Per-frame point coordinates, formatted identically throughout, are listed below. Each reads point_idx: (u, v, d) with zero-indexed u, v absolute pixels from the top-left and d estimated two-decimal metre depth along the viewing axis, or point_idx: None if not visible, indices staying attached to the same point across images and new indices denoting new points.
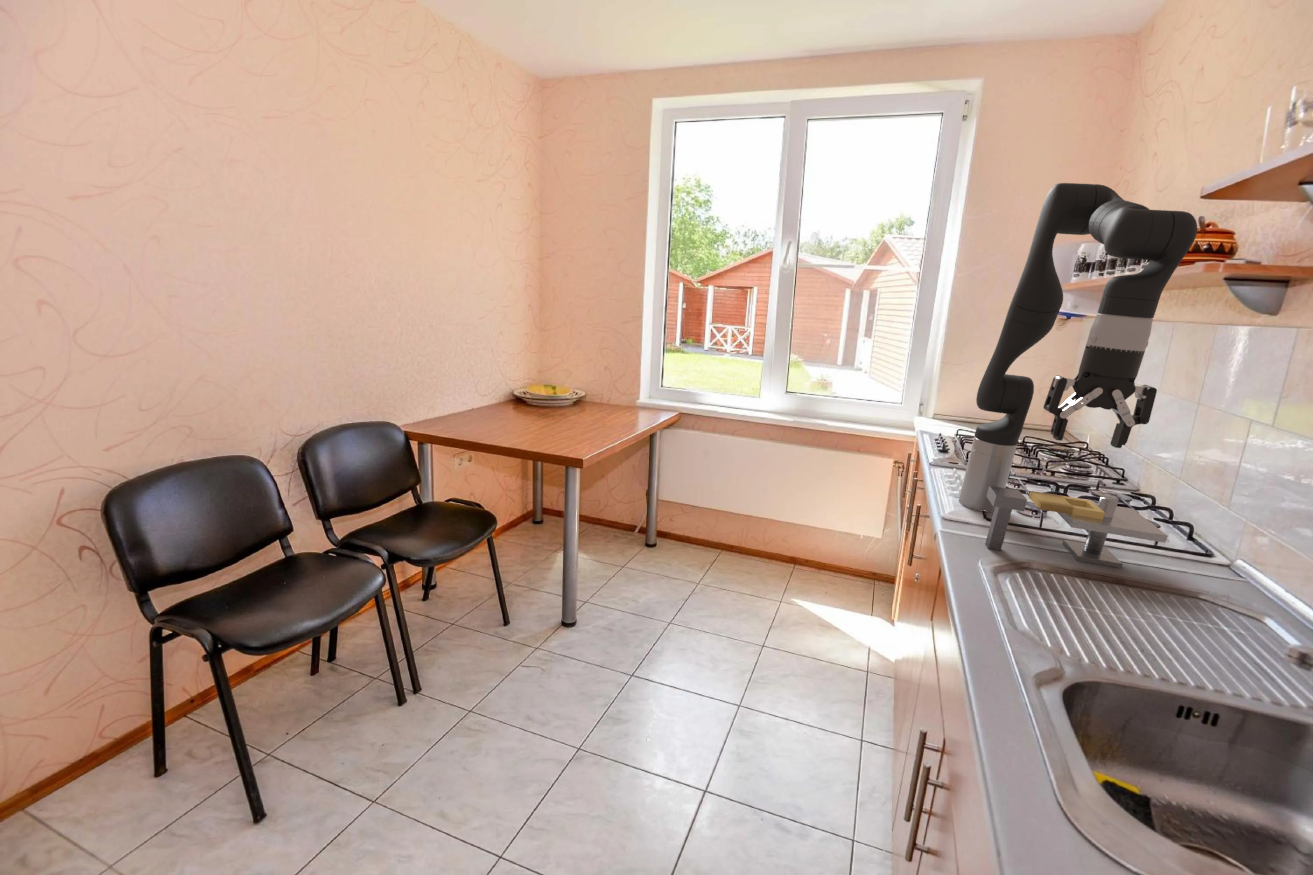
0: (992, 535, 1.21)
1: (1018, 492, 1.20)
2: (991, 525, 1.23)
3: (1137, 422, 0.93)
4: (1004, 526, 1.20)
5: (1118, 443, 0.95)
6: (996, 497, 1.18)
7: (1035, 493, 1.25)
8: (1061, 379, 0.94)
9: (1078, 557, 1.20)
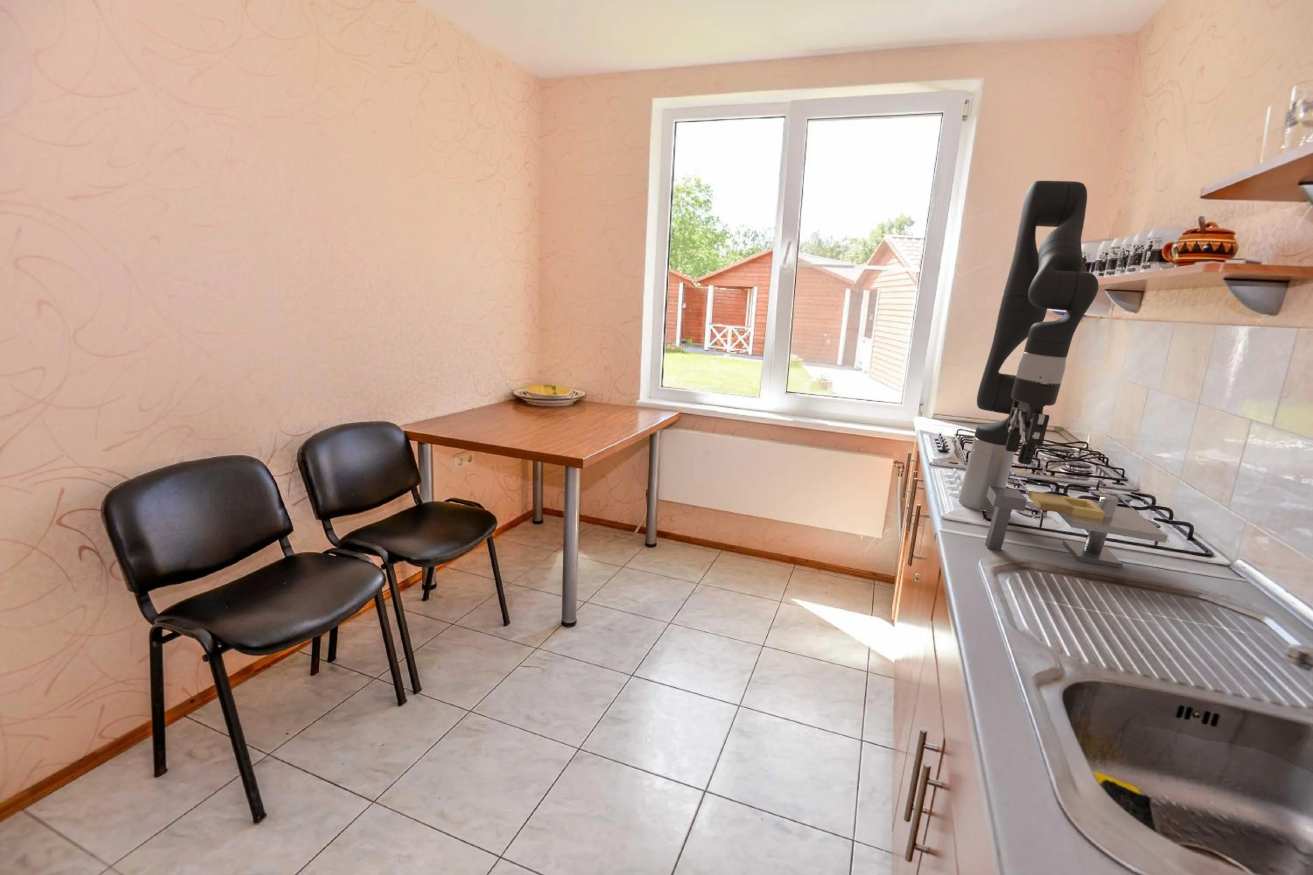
0: (992, 535, 1.21)
1: (1018, 492, 1.20)
2: (991, 525, 1.23)
3: None
4: (1004, 526, 1.20)
5: (1017, 448, 1.21)
6: (996, 497, 1.18)
7: (1035, 493, 1.25)
8: (1048, 416, 1.08)
9: (1078, 557, 1.20)
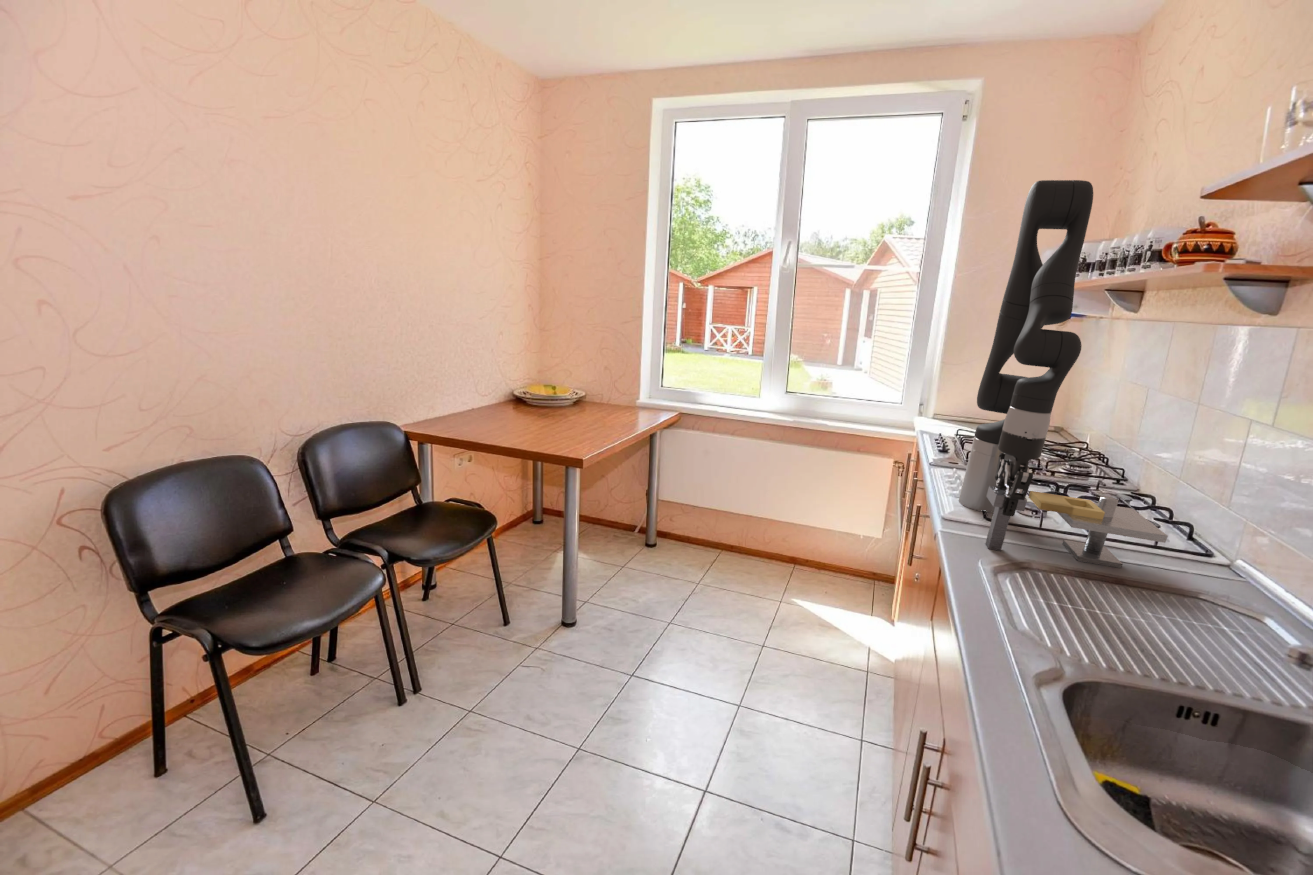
0: (992, 535, 1.21)
1: None
2: (991, 525, 1.23)
3: None
4: (1004, 526, 1.20)
5: None
6: (996, 497, 1.18)
7: (1035, 493, 1.25)
8: (1032, 475, 1.11)
9: (1078, 557, 1.20)
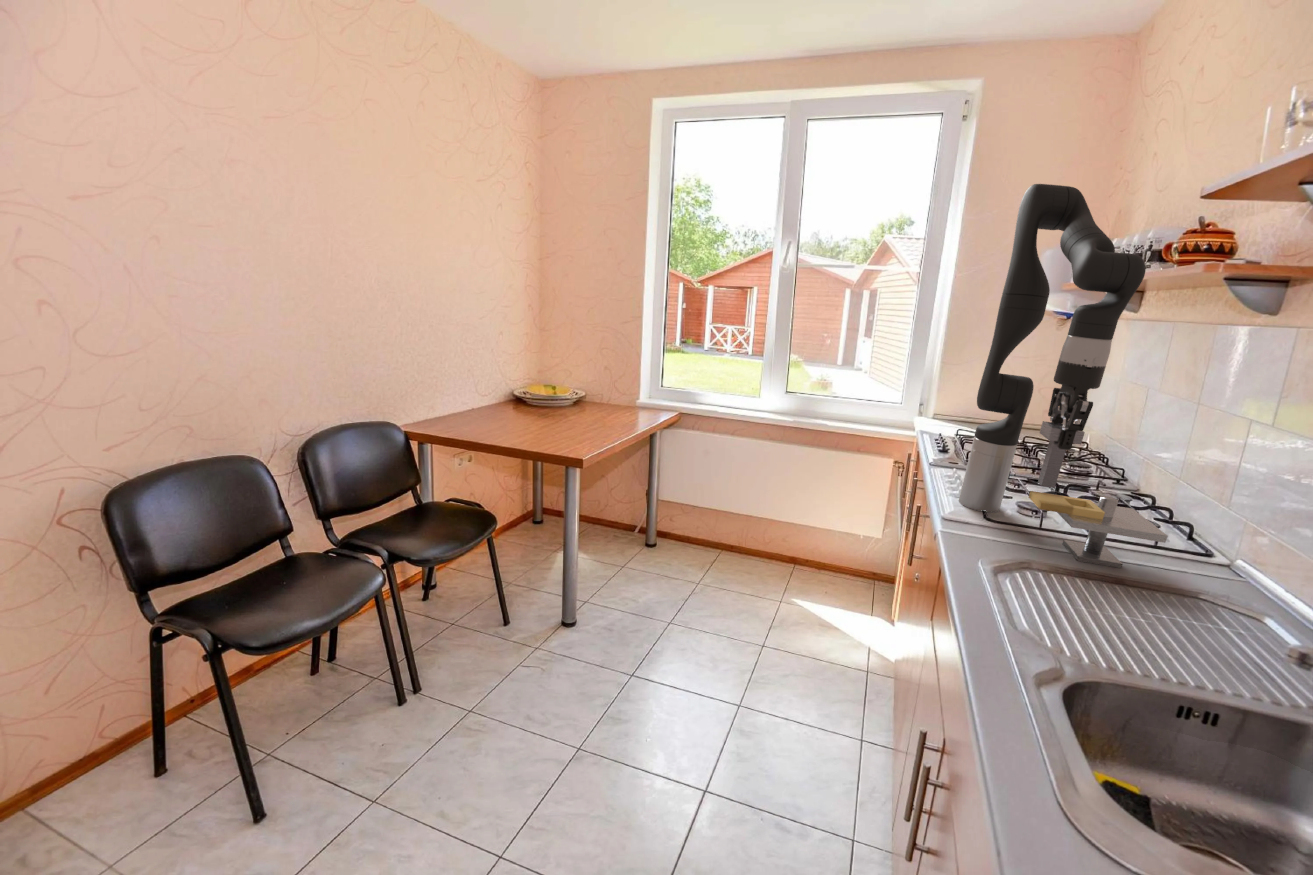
0: (1046, 471, 1.18)
1: None
2: (1045, 462, 1.19)
3: None
4: (1059, 462, 1.17)
5: None
6: (1052, 430, 1.14)
7: (1035, 493, 1.25)
8: (1092, 404, 1.08)
9: (1078, 557, 1.20)
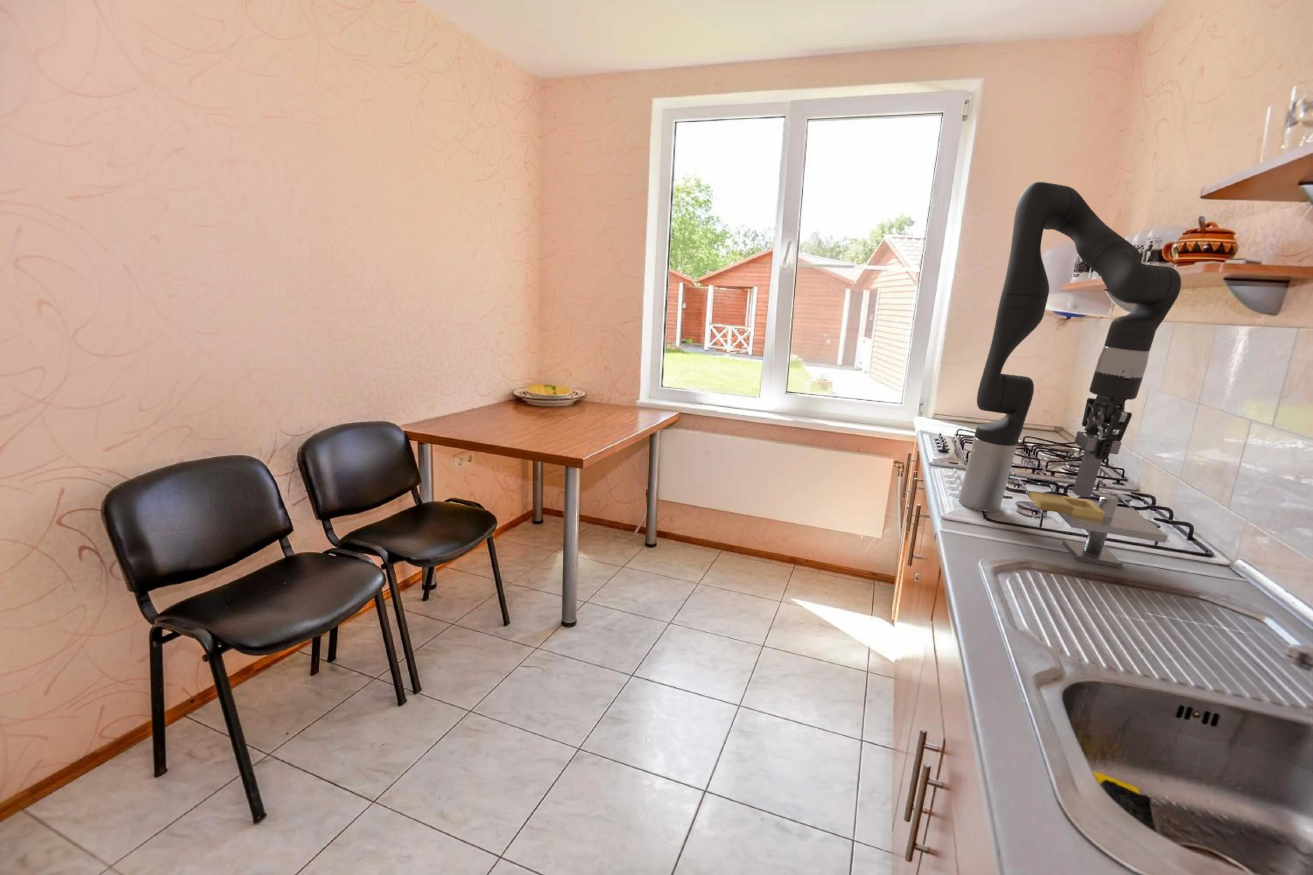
0: (1081, 481, 1.19)
1: None
2: (1080, 471, 1.20)
3: None
4: (1095, 471, 1.18)
5: None
6: (1088, 440, 1.15)
7: (1035, 493, 1.25)
8: (1131, 415, 1.09)
9: (1078, 557, 1.20)
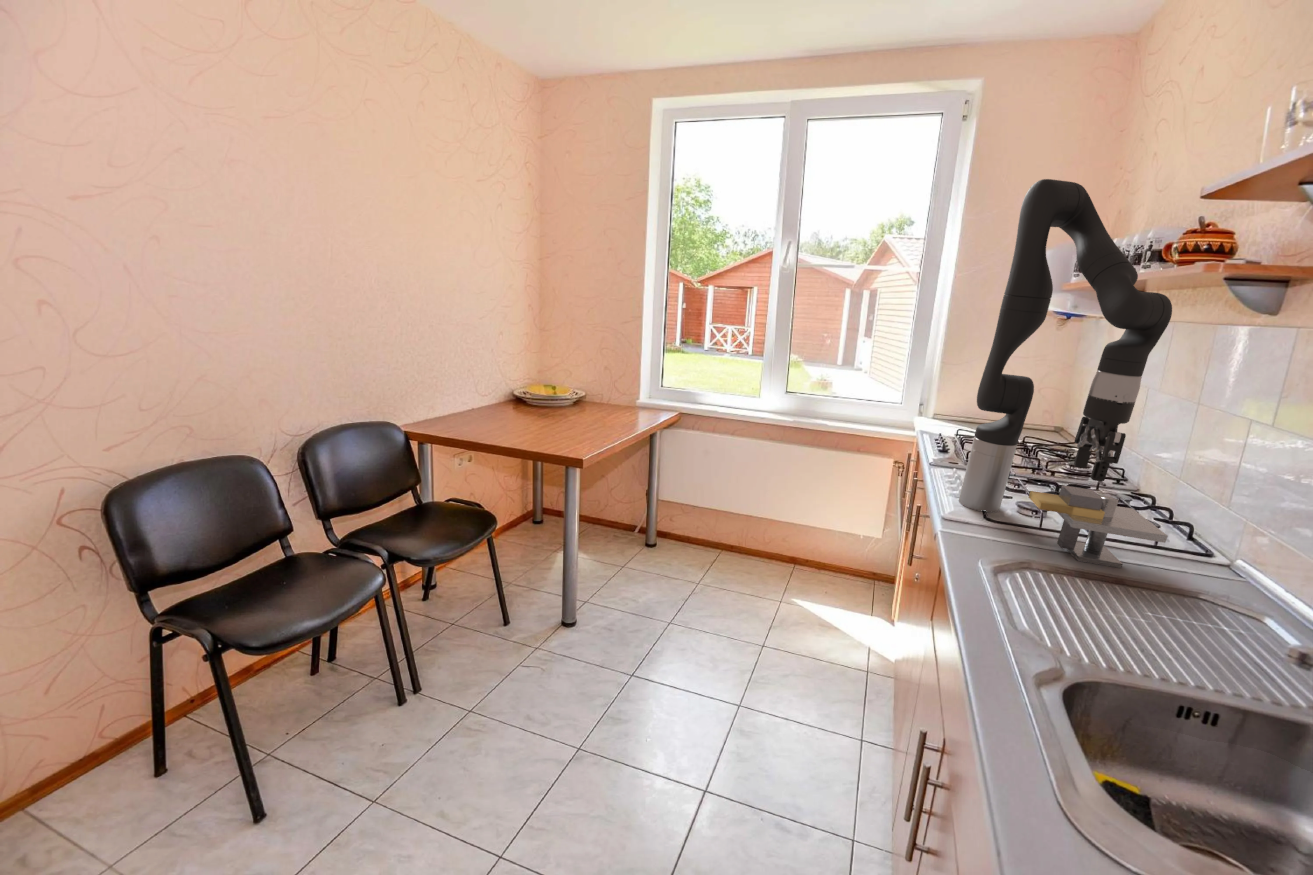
0: (1065, 534, 1.22)
1: (1092, 492, 1.21)
2: (1064, 524, 1.23)
3: None
4: None
5: (1086, 464, 1.22)
6: (1071, 496, 1.19)
7: (1035, 493, 1.25)
8: (1125, 435, 1.10)
9: (1078, 557, 1.20)
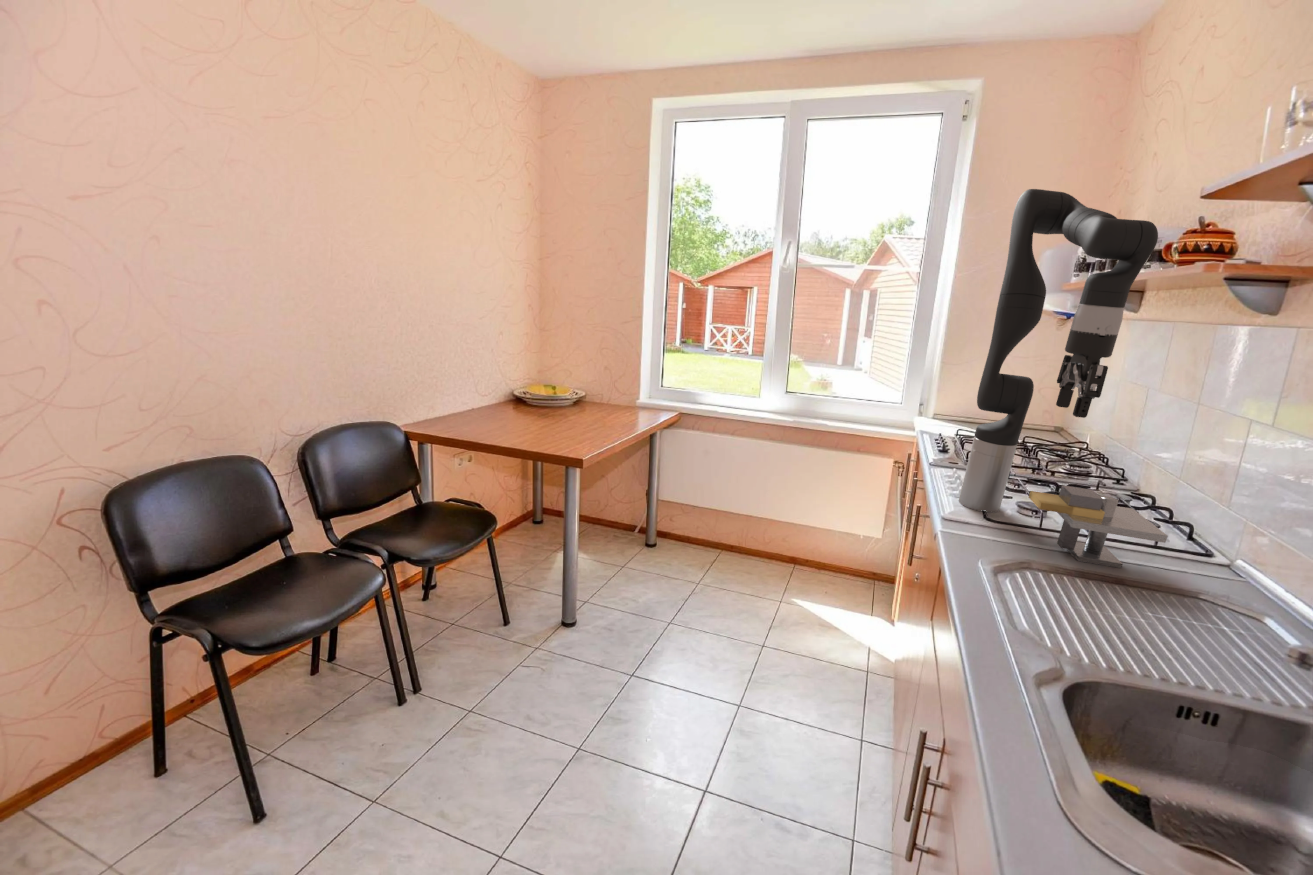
0: (1065, 534, 1.22)
1: (1092, 492, 1.21)
2: (1064, 524, 1.23)
3: None
4: None
5: (1069, 404, 1.20)
6: (1071, 496, 1.19)
7: (1035, 493, 1.25)
8: None
9: (1078, 557, 1.20)
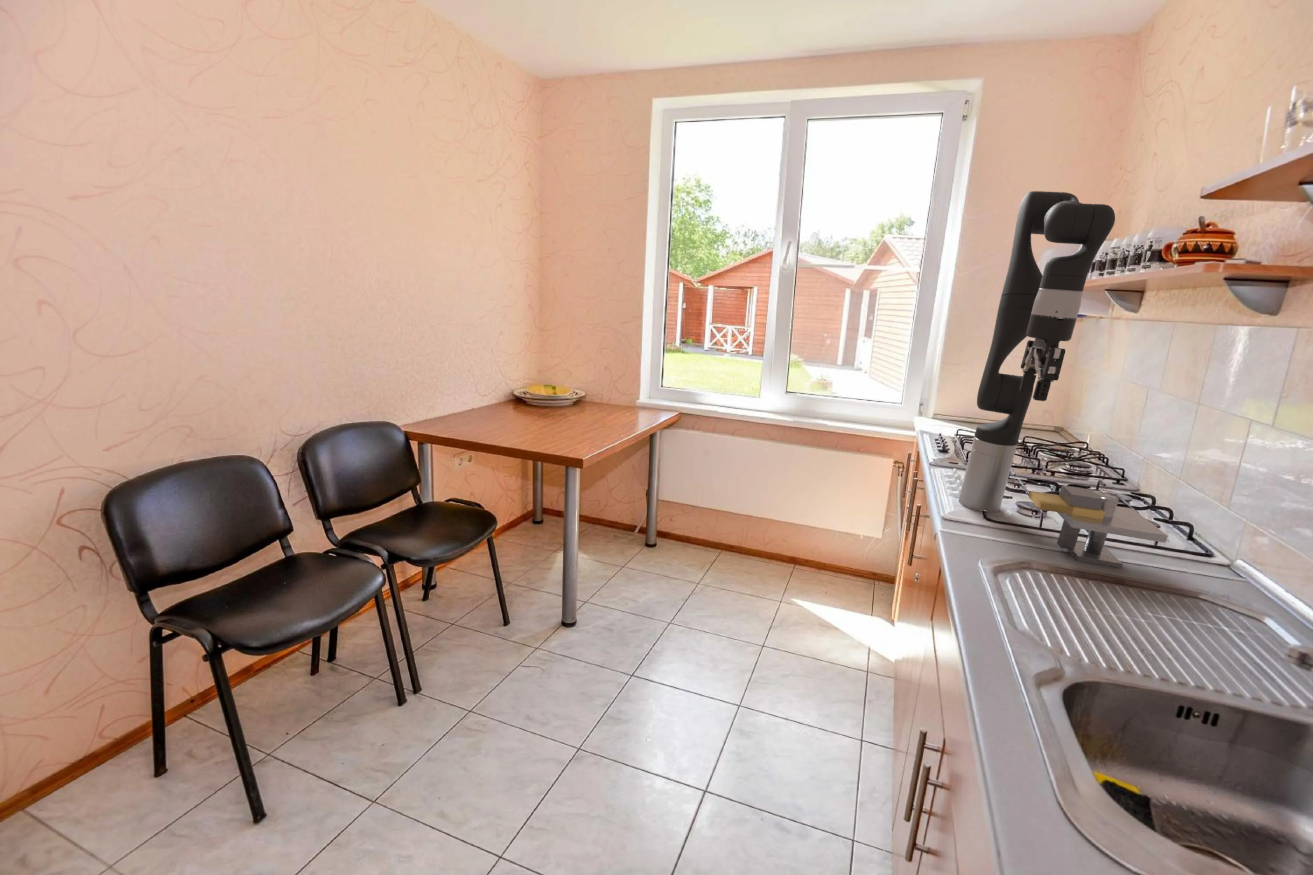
0: (1065, 534, 1.22)
1: (1092, 492, 1.21)
2: (1064, 524, 1.23)
3: None
4: None
5: (1032, 388, 1.21)
6: (1071, 496, 1.19)
7: (1035, 493, 1.25)
8: (1064, 350, 1.08)
9: (1078, 557, 1.20)
